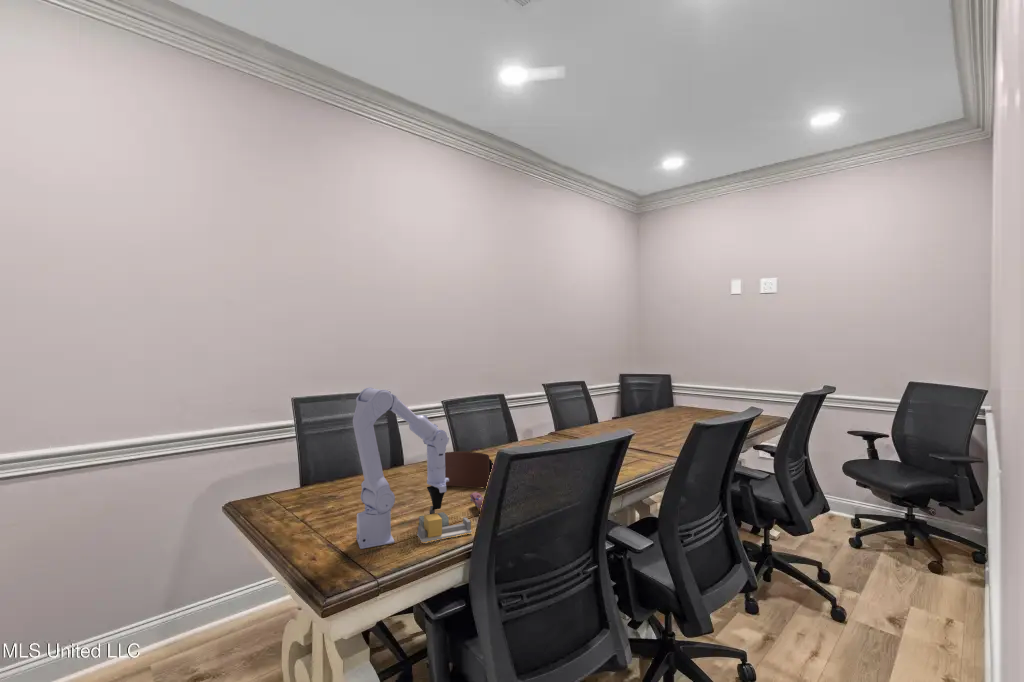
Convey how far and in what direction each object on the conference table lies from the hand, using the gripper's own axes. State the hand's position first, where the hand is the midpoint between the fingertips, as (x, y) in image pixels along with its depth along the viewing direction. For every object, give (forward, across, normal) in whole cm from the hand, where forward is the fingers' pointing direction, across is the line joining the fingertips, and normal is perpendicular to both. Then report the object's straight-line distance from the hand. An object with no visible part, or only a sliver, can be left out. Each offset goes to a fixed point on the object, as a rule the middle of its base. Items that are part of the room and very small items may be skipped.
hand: (437, 508), depth 150 cm
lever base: (+4, -3, +2) cm, 6 cm away
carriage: (+3, -11, +5) cm, 13 cm away
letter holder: (+5, +34, -23) cm, 41 cm away
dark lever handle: (0, -2, +2) cm, 3 cm away
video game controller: (+4, +4, -16) cm, 17 cm away
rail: (+4, -11, +1) cm, 12 cm away
